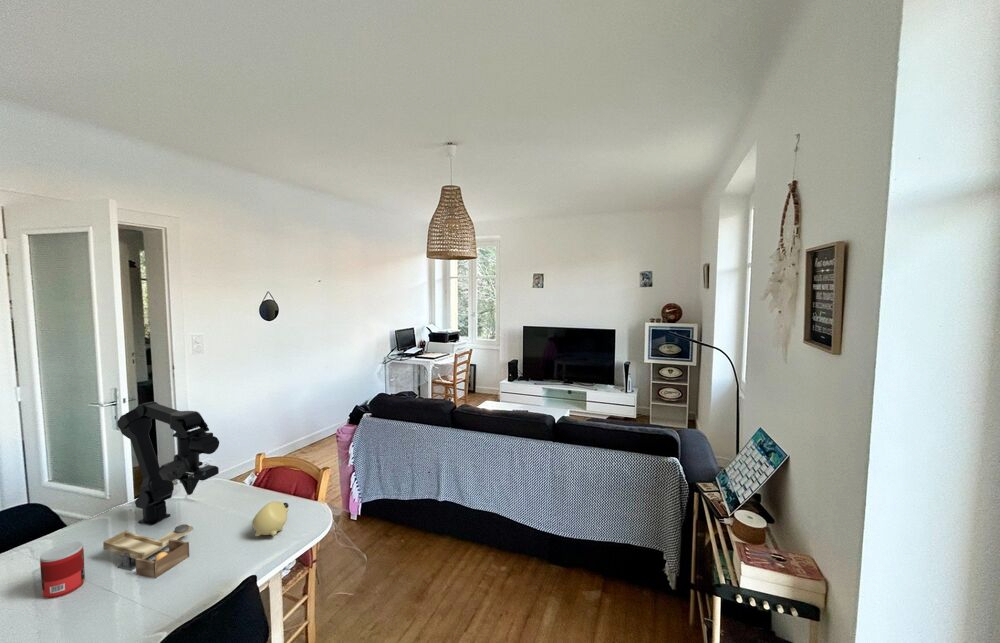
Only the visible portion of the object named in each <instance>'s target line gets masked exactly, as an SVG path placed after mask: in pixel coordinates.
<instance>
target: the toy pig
mask: <svg viewBox="0 0 1000 643" xmlns="http://www.w3.org/2000/svg"><path fill="white" fill-rule="evenodd" d="M288 511H289V503H288V502H283V501H279V500H278V501H270V502H268V503H266V505H264V506H263V507H262V508H261V509H260V510H259V511H258V512H257V513H256V515H255V516H254V518H253V520H252V522H251V523H252V527H253V530H254V531H255V536H256V537H259V536H261V535H264V536H267V535H268V536H269V535H271V536H276V535H277V532H282V531H283V529H284V526H285V524H286V522H287V520H288Z"/></svg>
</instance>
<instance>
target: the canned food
mask: <svg viewBox="0 0 1000 643" xmlns="http://www.w3.org/2000/svg"><path fill="white" fill-rule="evenodd" d="M84 552H85V551H84V543H83V542H81V541H70V542H65V543H62V544H59V545H56V546H54V547H52V548H49V549H48V550H46V551H44V552H43V553H42V554H41V555H40V557H39V567H40V578H41V580H40V582H41V594H42V597H43V598H45V599H49V600H50V599H57V598H61V597H64V596H66V595H68V594H71V593H72V592H75V591H76V590H78V589H79V588H80V587H82V586H83V584H84V582H85V580H86V575H85V553H84Z"/></svg>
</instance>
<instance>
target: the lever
mask: <svg viewBox="0 0 1000 643" xmlns="http://www.w3.org/2000/svg"><path fill="white" fill-rule="evenodd" d="M193 530H194V526H191V525H189V524H185V523H184V524H180V525H177V526H176V527H174V529H173V530H172V531H171V532H169V533H168V534H165V535H164V536H162V537H161V538H159V539H155V538H152V539H151V537H147V536H144V535H141V534H136V533H133V532H129V531H127V530H124V531H122V532H120V533H118V534H116V535H114V536H112V537H110V538H108V539H106V540H104V541H103V550H105V551H108V552H112V553H114V554H118V555H121V556H123V554H124V553H129V557H131V558H134V559H137V558H140V559H146V558H147V557H149V556H151V555H152V554H154V553H156V552H157V551H161V550H162V549H164V548H165V547H167V546H169V540H170V539H174V540H179V539H180V538H181V537H184V536H185V535H187V534H189V533H190V532H192V531H193Z"/></svg>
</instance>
